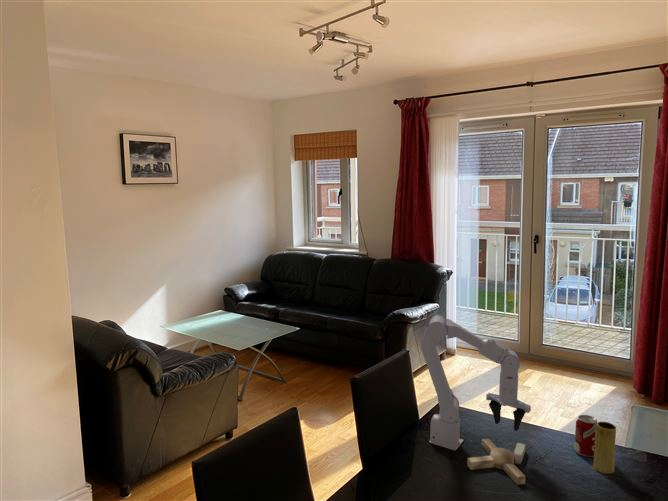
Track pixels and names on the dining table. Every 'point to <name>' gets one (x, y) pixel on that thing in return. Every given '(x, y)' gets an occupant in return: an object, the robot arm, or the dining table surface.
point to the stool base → (497, 461)
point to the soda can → (585, 435)
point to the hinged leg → (519, 453)
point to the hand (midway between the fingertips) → (506, 426)
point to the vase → (605, 448)
